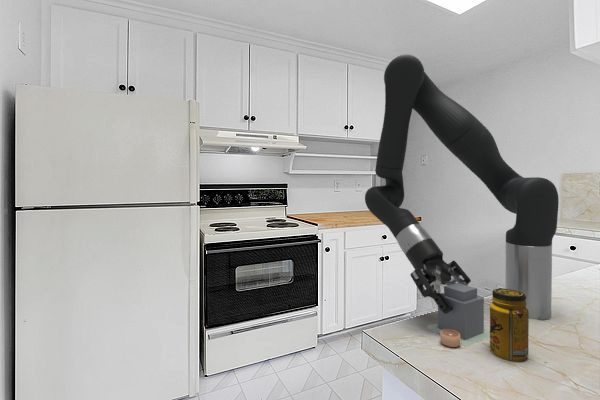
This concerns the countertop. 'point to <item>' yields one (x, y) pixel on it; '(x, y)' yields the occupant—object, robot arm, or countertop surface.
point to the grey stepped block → (463, 311)
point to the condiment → (509, 325)
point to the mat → (468, 341)
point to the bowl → (450, 337)
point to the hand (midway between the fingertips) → (461, 307)
